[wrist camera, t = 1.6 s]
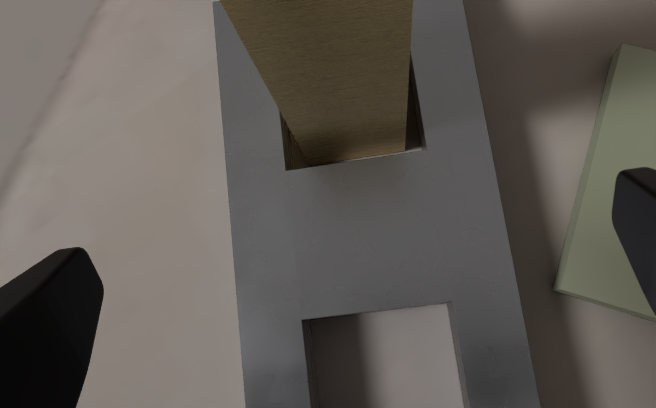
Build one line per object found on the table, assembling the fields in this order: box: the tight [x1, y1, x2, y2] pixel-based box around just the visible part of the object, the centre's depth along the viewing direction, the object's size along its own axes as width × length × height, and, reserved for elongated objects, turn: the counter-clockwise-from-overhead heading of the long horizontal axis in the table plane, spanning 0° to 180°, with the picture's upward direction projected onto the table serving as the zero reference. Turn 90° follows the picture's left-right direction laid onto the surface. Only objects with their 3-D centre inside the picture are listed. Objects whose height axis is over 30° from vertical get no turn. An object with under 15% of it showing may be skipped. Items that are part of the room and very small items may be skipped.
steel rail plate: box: [213, 0, 541, 408], centre depth 21 cm, size 21×10×2 cm, turn 7°
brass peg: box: [220, 0, 413, 165], centre depth 17 cm, size 4×4×13 cm
